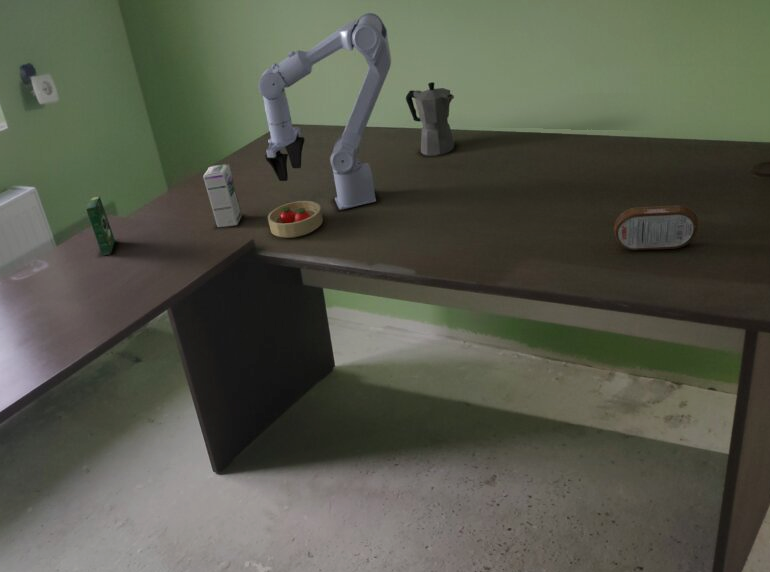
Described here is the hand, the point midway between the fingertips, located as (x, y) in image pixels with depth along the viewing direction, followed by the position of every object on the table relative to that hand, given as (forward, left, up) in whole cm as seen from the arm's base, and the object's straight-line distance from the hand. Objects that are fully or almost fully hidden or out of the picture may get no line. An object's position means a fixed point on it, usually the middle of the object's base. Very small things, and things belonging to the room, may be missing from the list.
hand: (290, 174), depth 219 cm
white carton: (+18, -2, -10) cm, 20 cm away
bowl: (+2, +12, -9) cm, 15 cm away
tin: (-65, +62, -10) cm, 90 cm away
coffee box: (+51, -4, -10) cm, 52 cm away
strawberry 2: (0, +13, -9) cm, 16 cm away
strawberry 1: (+3, +10, -9) cm, 14 cm away
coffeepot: (-41, -18, -10) cm, 46 cm away
